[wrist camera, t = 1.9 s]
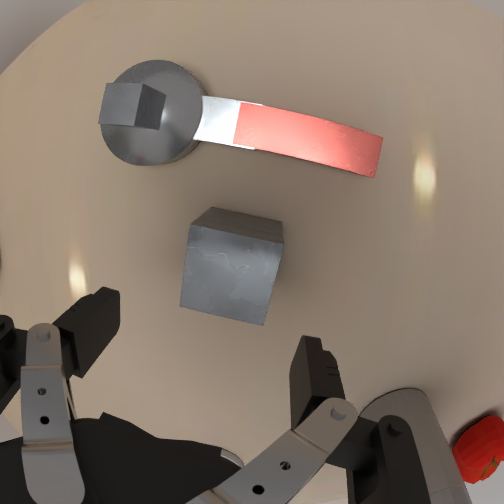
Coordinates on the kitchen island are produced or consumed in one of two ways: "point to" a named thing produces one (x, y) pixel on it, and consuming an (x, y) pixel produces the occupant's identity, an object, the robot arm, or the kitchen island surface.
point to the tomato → (480, 449)
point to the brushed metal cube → (231, 265)
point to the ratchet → (217, 123)
